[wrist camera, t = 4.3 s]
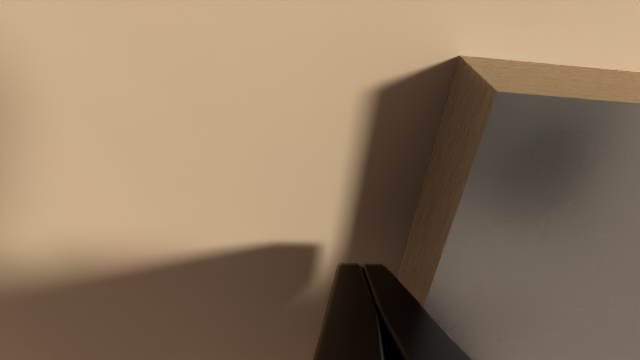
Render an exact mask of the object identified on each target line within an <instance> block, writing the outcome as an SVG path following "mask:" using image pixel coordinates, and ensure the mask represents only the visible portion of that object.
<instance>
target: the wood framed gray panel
mask: <svg viewBox="0 0 640 360" xmlns="http://www.w3.org/2000/svg"><path fill="white" fill-rule="evenodd" d="M397 279H398V280H399V281H400V282H401V283H402V285H403V286H404V287H405V288H406V289H407V290H408V291H409V292H410V293H411V294H412V295H413V296H414V297H415V298H416V299H417V300H418V301H419V302H420V304H421V305H422V306H423V307H424V308H425V309H426V310H427V311H428V312H429V313H430V314H431V315H432V316H433V317H434V318H435V319H436V320H437V322H438V323H439V324H440V325H441V326H442V327H443V328H444V329H445V330H446V331H447V332H448V333H449V334H450V335H451V336H452V337H453V338H454V339H455V341H456V342H457V343H458V344H459V345H460V346H461V347H462V348H463V349H464V350H465V351H466V352H467V353H468V354H469V355H470V356H471V357H472V359H473V360H640V72H629V71H619V70H608V69H597V68H587V67H576V66H565V65H554V64H544V63H533V62H522V61H512V60H501V59H490V58H480V57H469V56H459V59H458V63H457V66H456V70H455V73H454V77H453V80H452V84H451V88H450V91H449V95H448V98H447V102H446V105H445V109H444V112H443V116H442V119H441V123H440V126H439V130H438V134H437V137H436V141H435V144H434V148H433V151H432V155H431V158H430V162H429V165H428V169H427V172H426V176H425V180H424V183H423V187H422V190H421V194H420V197H419V201H418V204H417V208H416V211H415V215H414V218H413V222H412V226H411V229H410V233H409V236H408V240H407V243H406V247H405V250H404V254H403V257H402V261H401V264H400V268H399V272H398V275H397Z"/></svg>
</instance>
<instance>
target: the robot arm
mask: <svg viewBox="0 0 640 360" xmlns="http://www.w3.org/2000/svg"><path fill="white" fill-rule="evenodd" d="M313 360H473V359H472V357H471V356H470V355H469V354H468V353H467V352H466V351H465V350H464V349H463V348H462V347H461V346H460V345H459V344H458V343H457V342H456V341H455V339H454V338H453V337H452V336H451V335H450V334H449V333H448V332H447V331H446V330H445V329H444V328H443V327H442V326H441V325H440V324H439V323H438V322H437V320H436V319H435V318H434V317H433V316H432V315H431V314H430V313H429V312H428V311H427V310H426V309H425V308H424V307H423V306H422V305H421V304H420V302H419V301H418V300H417V299H416V298H415V297H414V296H413V295H412V294H411V293H410V292H409V291H408V290H407V289H406V288H405V287H404V286H403V285H402V283H401V282H400V281H399V280H398V279H397V278H396V277H395V276H394V275H393V274H392V273H391V272H390V271H389V270H388V269H387V268H386V267H385V266H384V265H382V264H362V265H361V266H360V265H359V264H357V263H340V264H339V265H338V267H337V270H336V274H335V278H334V281H333V285H332V289H331V293H330V297H329V301H328V304H327V308H326V312H325V316H324V320H323V323H322V327H321V331H320V335H319V339H318V343H317V346H316V350H315V354H314V358H313Z"/></svg>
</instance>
